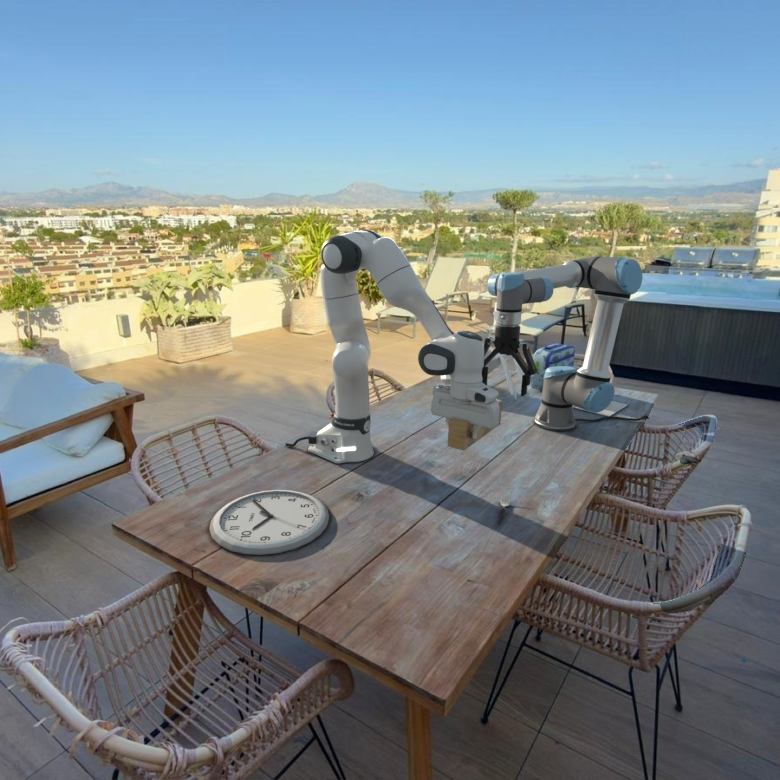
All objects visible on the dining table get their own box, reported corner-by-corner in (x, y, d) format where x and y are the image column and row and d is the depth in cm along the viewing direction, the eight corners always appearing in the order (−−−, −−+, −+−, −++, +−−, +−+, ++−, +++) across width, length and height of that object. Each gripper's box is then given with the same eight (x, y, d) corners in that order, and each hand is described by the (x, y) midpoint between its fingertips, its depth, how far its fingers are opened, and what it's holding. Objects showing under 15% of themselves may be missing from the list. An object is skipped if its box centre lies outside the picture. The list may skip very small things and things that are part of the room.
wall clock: (327, 546, 121) (194, 551, 119) (327, 552, 122) (195, 557, 119) (330, 485, 150) (223, 488, 147) (330, 490, 150) (224, 493, 148)
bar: (484, 420, 170) (486, 397, 168) (500, 424, 167) (502, 400, 165) (447, 446, 150) (448, 419, 147) (464, 450, 147) (466, 424, 144)
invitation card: (608, 416, 214) (573, 407, 224) (608, 416, 214) (573, 408, 224) (628, 404, 229) (594, 396, 238) (628, 405, 229) (594, 397, 238)
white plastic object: (461, 429, 252) (437, 405, 227) (444, 352, 274) (420, 323, 250) (535, 404, 240) (518, 377, 215) (510, 326, 262) (492, 293, 237)
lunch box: (547, 395, 239) (552, 351, 233) (526, 390, 247) (530, 347, 240) (574, 384, 257) (579, 343, 251) (554, 380, 264) (558, 339, 258)
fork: (492, 526, 134) (493, 519, 133) (502, 497, 148) (502, 491, 148) (503, 528, 133) (503, 521, 132) (511, 499, 147) (512, 492, 147)
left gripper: (427, 385, 149) (425, 430, 153) (494, 399, 138) (490, 447, 143) (438, 380, 154) (436, 424, 158) (504, 393, 143) (499, 440, 148)
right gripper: (465, 322, 164) (463, 386, 170) (542, 331, 150) (536, 401, 156) (477, 318, 169) (473, 381, 176) (552, 327, 155) (545, 395, 162)
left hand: (462, 435), depth 150 cm, fingers closed on bar, 5 cm apart
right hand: (503, 390), depth 166 cm, fingers open, 13 cm apart
